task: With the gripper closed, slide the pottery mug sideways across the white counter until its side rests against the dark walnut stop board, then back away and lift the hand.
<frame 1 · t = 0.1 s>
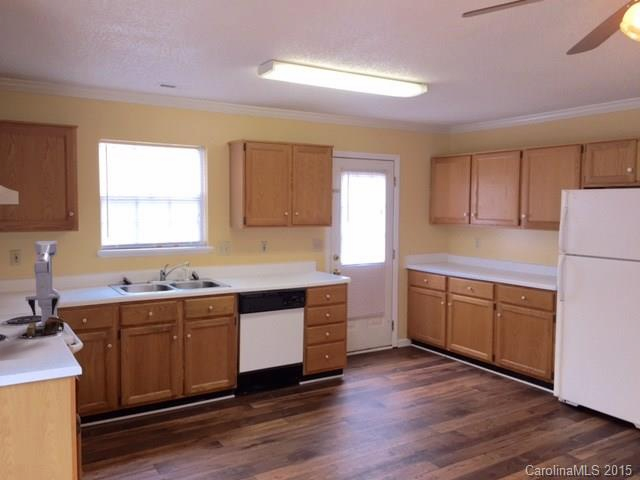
hand: (43, 315, 252), 10 cm above the counter, tool pointing down, fingers open, 7 cm apart
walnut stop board: (31, 333, 259), on the counter
pottery mug: (54, 332, 262), on the counter
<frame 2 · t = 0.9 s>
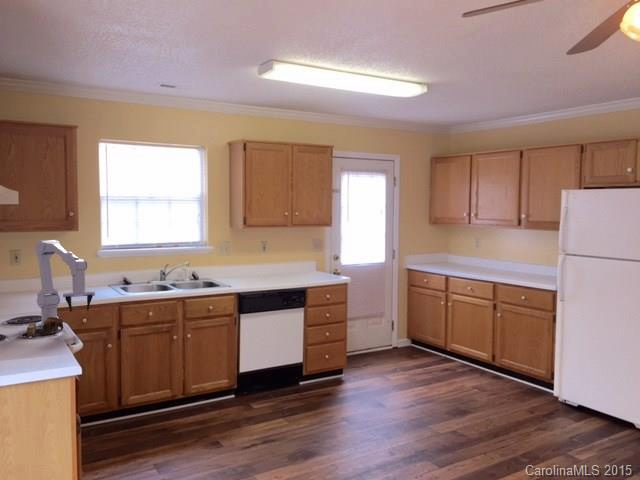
hand: (79, 310, 266), 9 cm above the counter, tool pointing down, fingers open, 7 cm apart
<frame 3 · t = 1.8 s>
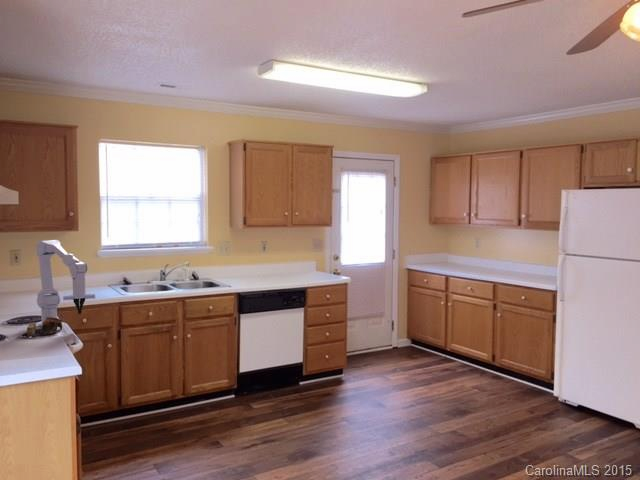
hand: (79, 313, 266), 8 cm above the counter, tool pointing down, fingers closed
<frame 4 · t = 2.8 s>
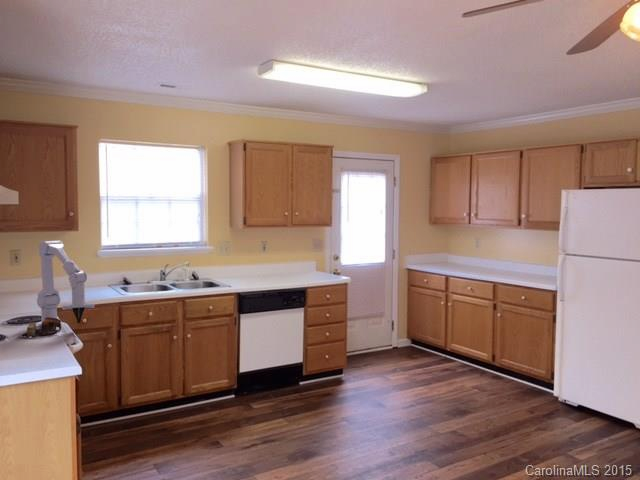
hand: (79, 322, 266), 3 cm above the counter, tool pointing down, fingers closed
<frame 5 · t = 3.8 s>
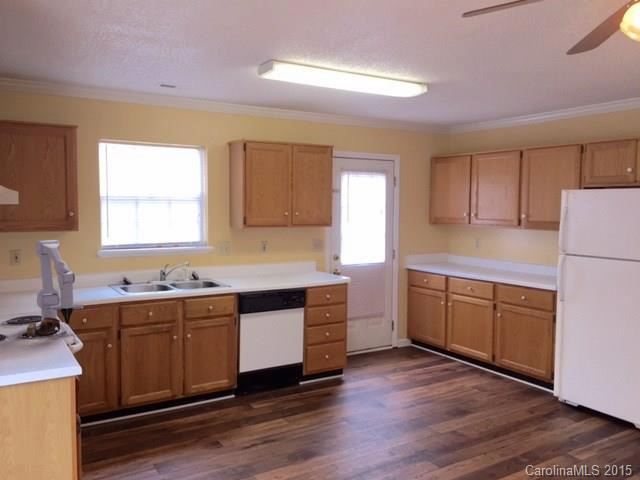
hand: (67, 323, 264), 3 cm above the counter, tool pointing down, fingers closed
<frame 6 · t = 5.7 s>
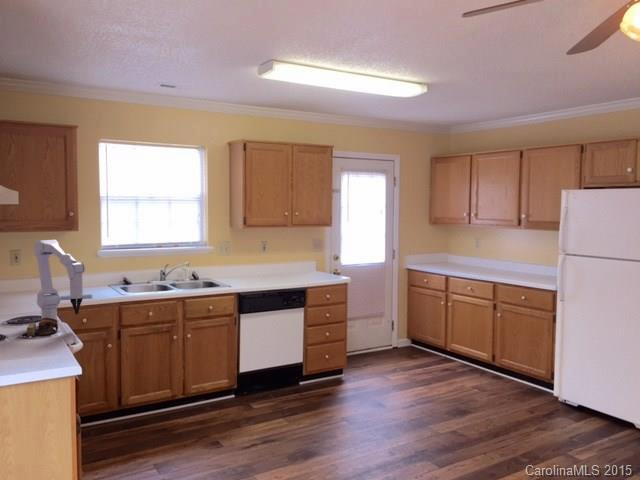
hand: (76, 313, 267), 8 cm above the counter, tool pointing down, fingers closed
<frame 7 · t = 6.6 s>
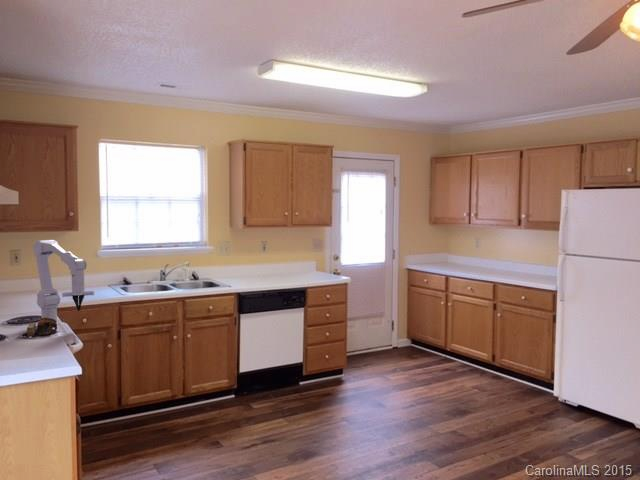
hand: (78, 310, 268), 9 cm above the counter, tool pointing down, fingers closed
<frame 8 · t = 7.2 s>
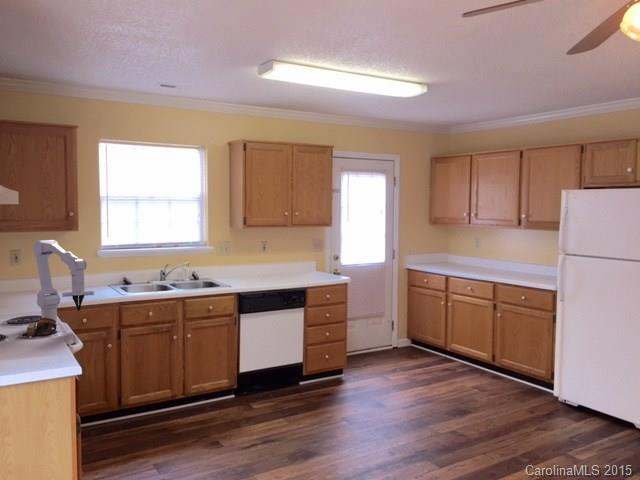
hand: (78, 310, 268), 9 cm above the counter, tool pointing down, fingers closed
at the end: pottery mug 1.1 cm from the target spot on the counter beside the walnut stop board, on the counter; pottery mug tilted 2° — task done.
